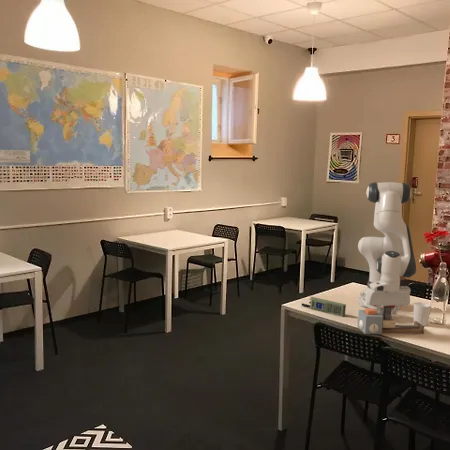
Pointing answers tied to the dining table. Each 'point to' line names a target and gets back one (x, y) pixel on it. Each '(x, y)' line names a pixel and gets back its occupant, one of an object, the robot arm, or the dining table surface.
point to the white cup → (421, 313)
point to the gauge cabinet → (370, 323)
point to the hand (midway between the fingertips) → (387, 314)
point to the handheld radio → (327, 306)
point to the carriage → (388, 318)
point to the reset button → (370, 311)
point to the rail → (405, 329)
